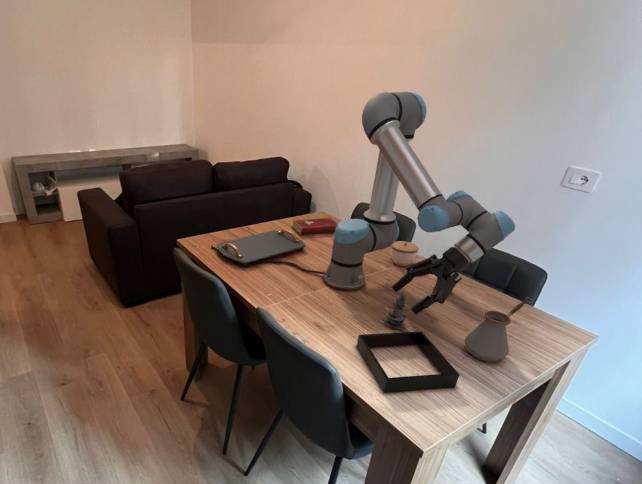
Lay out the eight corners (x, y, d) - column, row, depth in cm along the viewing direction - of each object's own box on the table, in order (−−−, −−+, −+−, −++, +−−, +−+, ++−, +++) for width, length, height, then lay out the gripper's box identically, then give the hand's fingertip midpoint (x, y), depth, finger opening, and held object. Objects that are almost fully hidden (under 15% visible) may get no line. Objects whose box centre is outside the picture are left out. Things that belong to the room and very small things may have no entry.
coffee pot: (490, 371, 112) (509, 325, 104) (453, 348, 120) (468, 305, 113) (531, 348, 122) (552, 305, 114) (495, 329, 130) (511, 288, 123)
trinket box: (384, 257, 176) (388, 237, 172) (407, 257, 177) (412, 237, 172) (393, 268, 167) (398, 247, 162) (418, 268, 168) (424, 247, 163)
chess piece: (404, 321, 133) (412, 289, 126) (404, 331, 128) (412, 298, 122) (385, 318, 134) (392, 286, 128) (384, 327, 129) (392, 295, 123)
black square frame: (383, 393, 103) (386, 380, 101) (356, 347, 120) (358, 334, 118) (454, 387, 106) (459, 374, 104) (418, 343, 123) (421, 330, 120)
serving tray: (278, 234, 197) (279, 221, 194) (311, 250, 181) (313, 237, 178) (210, 251, 178) (209, 237, 174) (239, 271, 162) (240, 256, 158)
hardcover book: (340, 233, 201) (341, 224, 199) (300, 236, 196) (301, 227, 194) (329, 224, 211) (330, 216, 209) (291, 227, 206) (292, 219, 204)
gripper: (493, 282, 112) (428, 329, 118) (445, 246, 133) (392, 288, 139) (481, 265, 108) (415, 315, 114) (434, 231, 130) (380, 274, 135)
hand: (402, 300), depth 127 cm, fingers open, 13 cm apart
